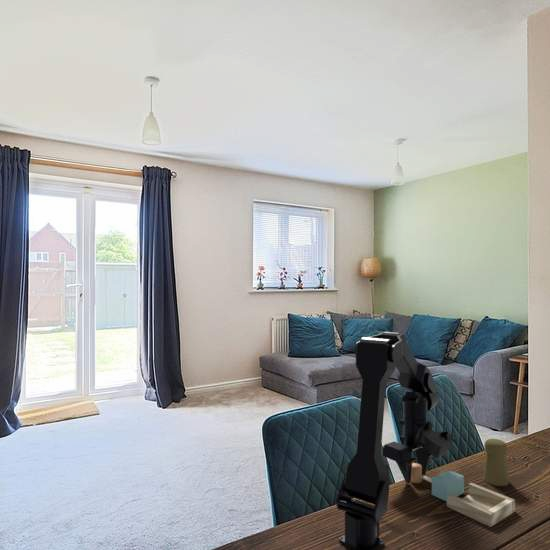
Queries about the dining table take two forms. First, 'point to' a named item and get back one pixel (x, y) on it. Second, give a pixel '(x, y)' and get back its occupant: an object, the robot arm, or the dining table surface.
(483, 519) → the lane
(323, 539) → the dining table surface
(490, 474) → the cork
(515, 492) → the dining table surface
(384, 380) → the robot arm
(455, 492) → the lever with tan knob
